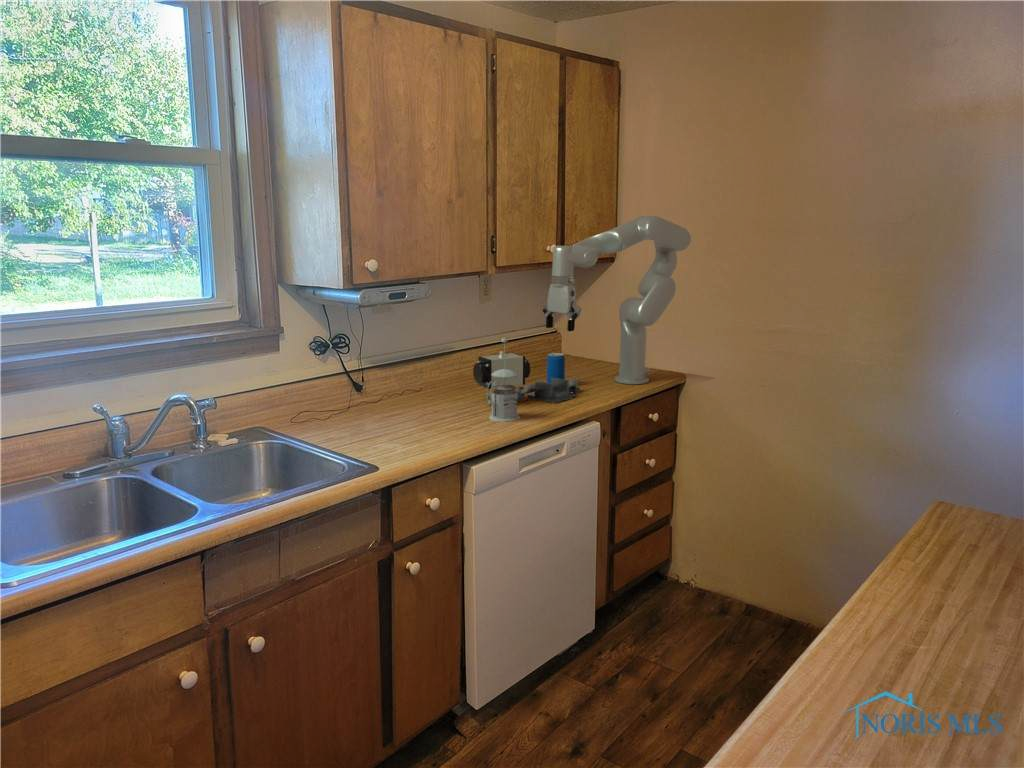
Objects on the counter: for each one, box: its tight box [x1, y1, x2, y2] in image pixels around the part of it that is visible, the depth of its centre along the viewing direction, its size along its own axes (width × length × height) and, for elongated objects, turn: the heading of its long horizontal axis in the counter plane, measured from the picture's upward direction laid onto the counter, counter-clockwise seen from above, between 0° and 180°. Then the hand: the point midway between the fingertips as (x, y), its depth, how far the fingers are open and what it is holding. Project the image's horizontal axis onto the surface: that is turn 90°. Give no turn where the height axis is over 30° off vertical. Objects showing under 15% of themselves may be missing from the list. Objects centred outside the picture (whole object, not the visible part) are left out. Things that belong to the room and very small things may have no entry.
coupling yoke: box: [515, 377, 581, 404], centre depth 262 cm, size 24×15×6 cm, turn 137°
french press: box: [486, 337, 521, 423], centre depth 233 cm, size 10×12×25 cm
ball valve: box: [472, 350, 531, 405], centre depth 251 cm, size 18×8×18 cm, turn 120°
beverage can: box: [546, 352, 566, 383], centre depth 277 cm, size 6×6×12 cm
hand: (559, 329), depth 272 cm, fingers open, 9 cm apart
